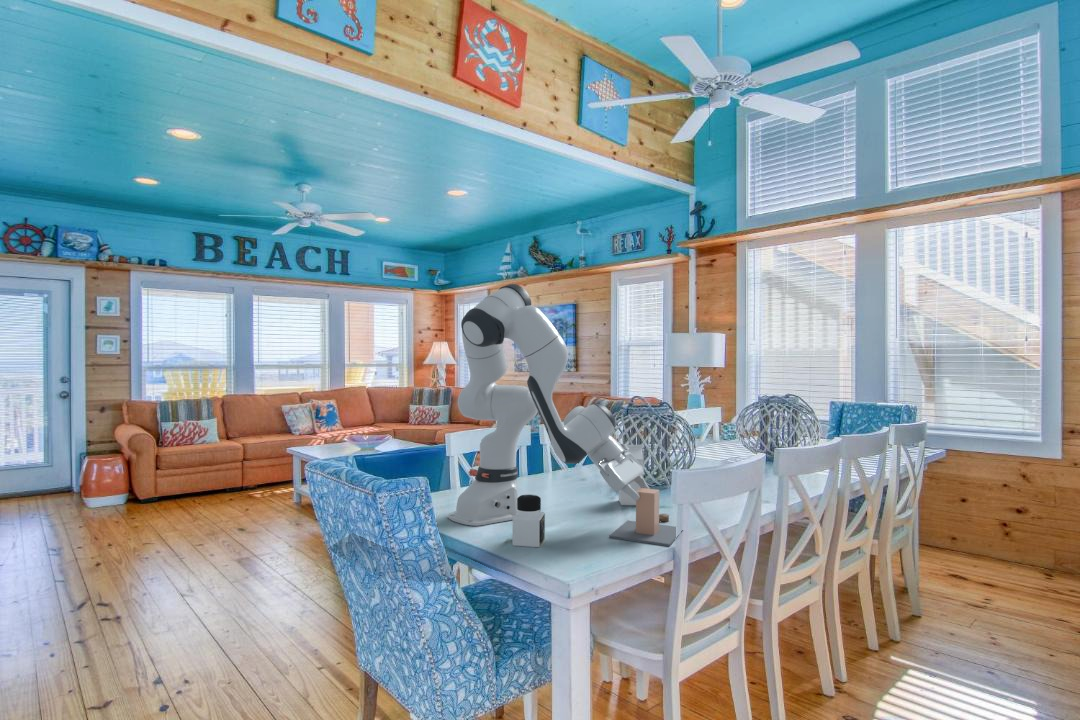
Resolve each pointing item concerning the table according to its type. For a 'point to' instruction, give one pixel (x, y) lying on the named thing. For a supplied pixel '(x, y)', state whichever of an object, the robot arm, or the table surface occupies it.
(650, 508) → the tan upright wooden block
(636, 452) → the milk carton
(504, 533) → the table surface
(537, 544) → the medicine bottle
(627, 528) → the mat
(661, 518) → the puck
